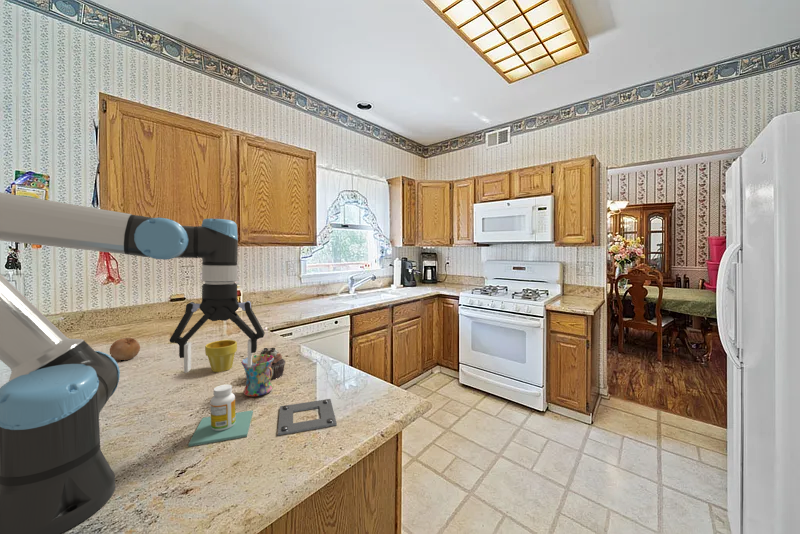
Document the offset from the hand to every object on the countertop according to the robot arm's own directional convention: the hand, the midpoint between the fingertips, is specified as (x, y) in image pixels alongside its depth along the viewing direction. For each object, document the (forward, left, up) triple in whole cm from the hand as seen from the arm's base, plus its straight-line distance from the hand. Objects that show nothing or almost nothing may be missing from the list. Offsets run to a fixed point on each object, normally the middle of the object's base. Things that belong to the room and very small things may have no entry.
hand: (219, 368), depth 78 cm
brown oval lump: (+70, +48, -16) cm, 87 cm away
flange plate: (-1, -21, -15) cm, 26 cm away
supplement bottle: (0, 0, -15) cm, 15 cm away
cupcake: (+32, -10, -16) cm, 37 cm away
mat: (0, -1, -15) cm, 15 cm away
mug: (+18, -8, -16) cm, 25 cm away
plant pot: (+45, +8, -16) cm, 48 cm away
